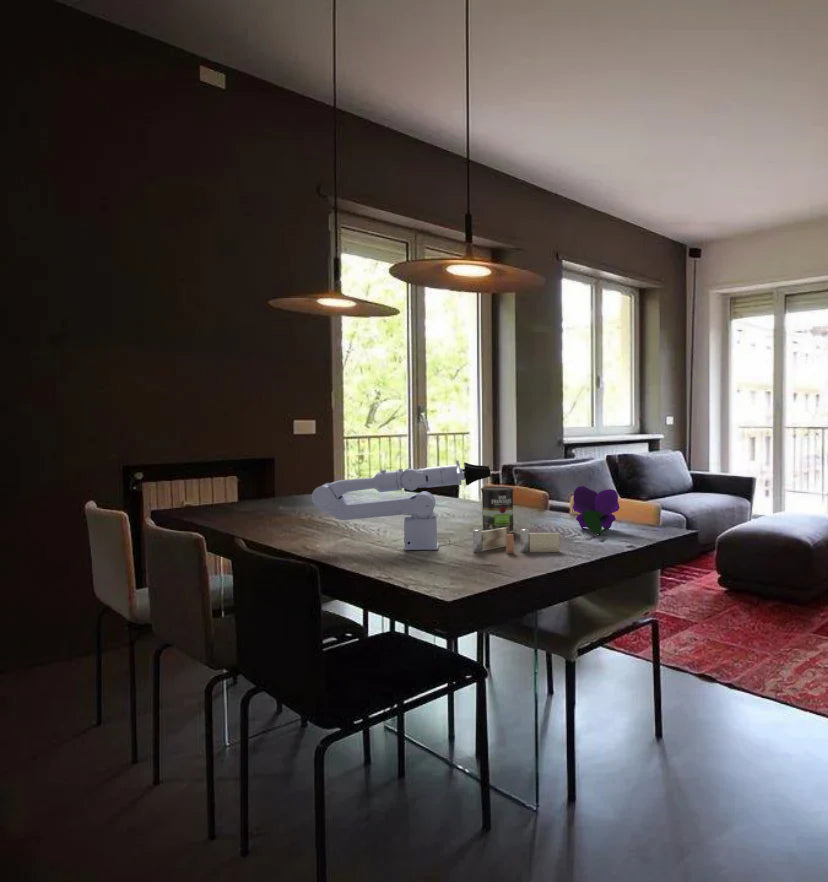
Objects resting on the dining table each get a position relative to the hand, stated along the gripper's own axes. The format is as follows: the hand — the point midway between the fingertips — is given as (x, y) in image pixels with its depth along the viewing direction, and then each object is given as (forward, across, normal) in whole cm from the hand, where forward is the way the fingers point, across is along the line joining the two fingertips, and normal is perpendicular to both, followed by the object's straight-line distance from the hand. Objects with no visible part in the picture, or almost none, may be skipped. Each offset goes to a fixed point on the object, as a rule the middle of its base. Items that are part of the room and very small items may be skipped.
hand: (490, 471), depth 181 cm
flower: (+32, +22, +25) cm, 46 cm away
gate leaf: (-1, -2, +21) cm, 21 cm away
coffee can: (+1, +24, +22) cm, 33 cm away
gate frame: (+5, -6, +22) cm, 24 cm away
